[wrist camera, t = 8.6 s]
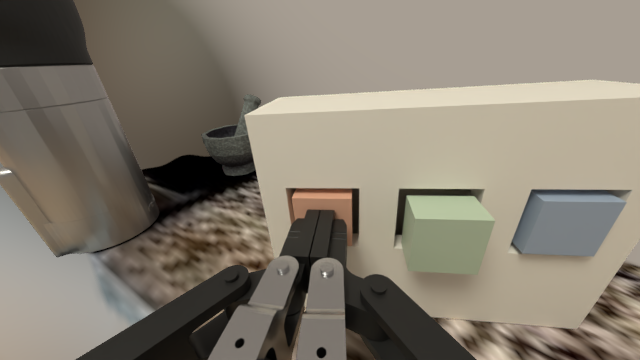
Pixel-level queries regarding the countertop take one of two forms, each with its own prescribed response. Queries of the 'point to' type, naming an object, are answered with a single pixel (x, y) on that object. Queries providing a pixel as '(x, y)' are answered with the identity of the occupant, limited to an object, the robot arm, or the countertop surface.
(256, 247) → the countertop surface
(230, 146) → the mortar and pestle
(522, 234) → the blue button
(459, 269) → the sage button
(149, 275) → the countertop surface
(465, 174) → the control box
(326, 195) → the terracotta button
